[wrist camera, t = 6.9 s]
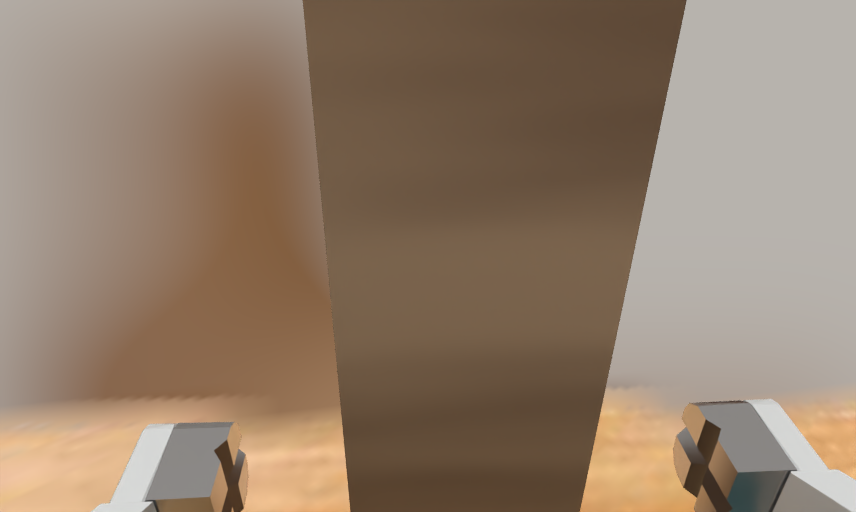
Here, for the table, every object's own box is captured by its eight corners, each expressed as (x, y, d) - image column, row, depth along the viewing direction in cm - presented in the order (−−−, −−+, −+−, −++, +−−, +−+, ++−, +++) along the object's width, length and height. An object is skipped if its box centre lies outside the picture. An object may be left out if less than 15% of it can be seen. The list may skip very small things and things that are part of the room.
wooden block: (522, 783, 15) (696, -49, 5) (377, 793, 15) (298, -50, 5) (499, 632, 18) (586, -72, 8) (378, 639, 18) (330, -72, 8)
